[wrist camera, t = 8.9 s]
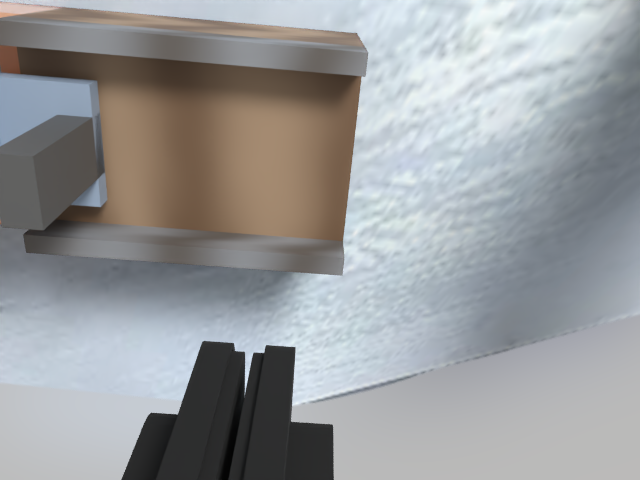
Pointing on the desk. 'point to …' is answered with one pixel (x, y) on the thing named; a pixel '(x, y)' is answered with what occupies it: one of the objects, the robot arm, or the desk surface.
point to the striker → (48, 148)
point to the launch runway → (205, 137)
